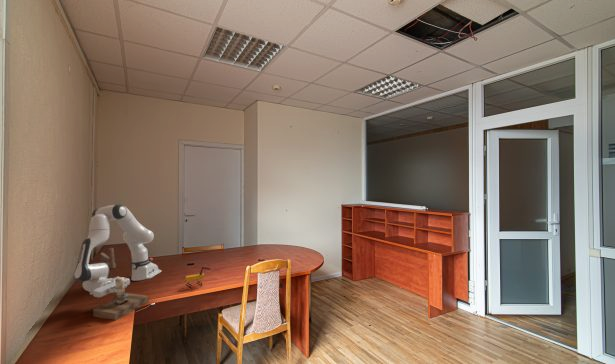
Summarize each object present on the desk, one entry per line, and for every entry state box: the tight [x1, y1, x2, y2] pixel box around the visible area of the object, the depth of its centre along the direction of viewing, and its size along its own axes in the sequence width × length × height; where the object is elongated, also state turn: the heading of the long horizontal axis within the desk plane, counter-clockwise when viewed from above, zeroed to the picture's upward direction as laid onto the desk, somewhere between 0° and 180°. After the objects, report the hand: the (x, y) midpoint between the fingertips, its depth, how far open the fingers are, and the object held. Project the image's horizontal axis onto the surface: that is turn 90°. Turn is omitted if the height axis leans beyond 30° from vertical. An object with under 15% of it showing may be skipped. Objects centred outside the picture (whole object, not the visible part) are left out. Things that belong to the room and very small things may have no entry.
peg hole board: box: [92, 292, 150, 321], centre depth 171 cm, size 22×18×4 cm
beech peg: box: [112, 276, 128, 303], centre depth 170 cm, size 8×8×15 cm
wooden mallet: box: [100, 247, 117, 270], centre depth 246 cm, size 4×11×18 cm, turn 90°
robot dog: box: [183, 266, 211, 289], centre depth 200 cm, size 6×18×13 cm, turn 109°
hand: (121, 288), depth 170 cm, fingers closed on beech peg, 4 cm apart
